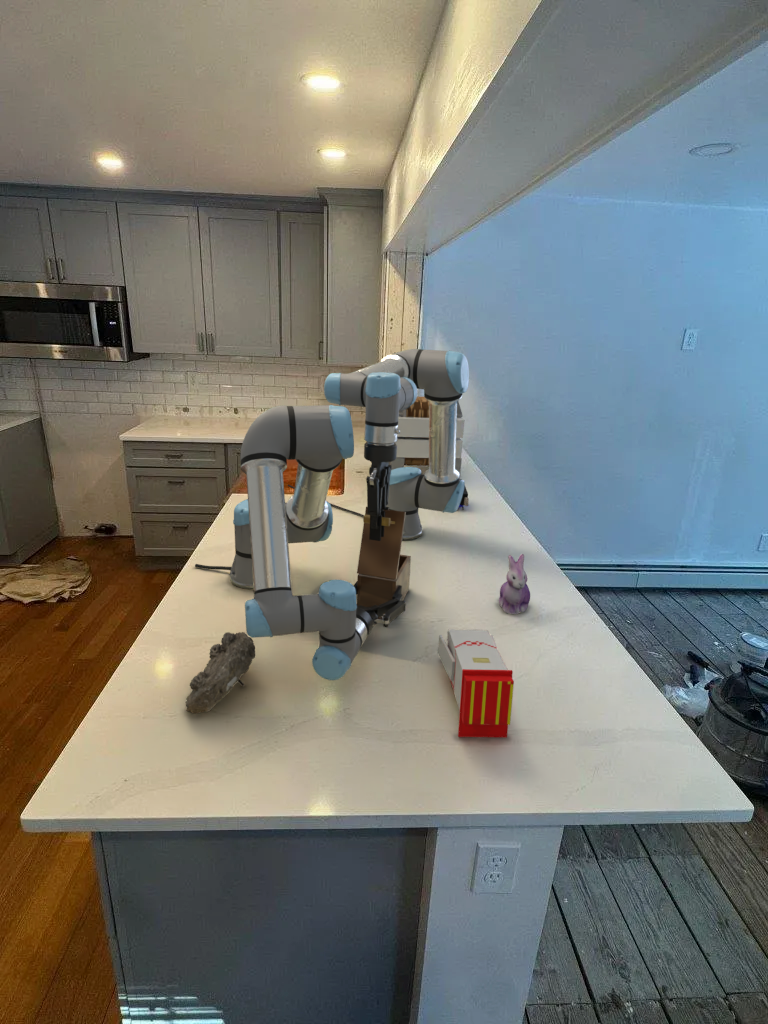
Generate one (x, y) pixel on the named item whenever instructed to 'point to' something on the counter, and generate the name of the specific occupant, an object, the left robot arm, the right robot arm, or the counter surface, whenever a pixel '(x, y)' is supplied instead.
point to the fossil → (221, 671)
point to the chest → (383, 585)
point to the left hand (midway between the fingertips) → (379, 586)
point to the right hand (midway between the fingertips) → (376, 537)
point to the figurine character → (464, 499)
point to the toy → (478, 682)
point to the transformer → (421, 436)
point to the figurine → (515, 588)
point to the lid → (382, 546)
